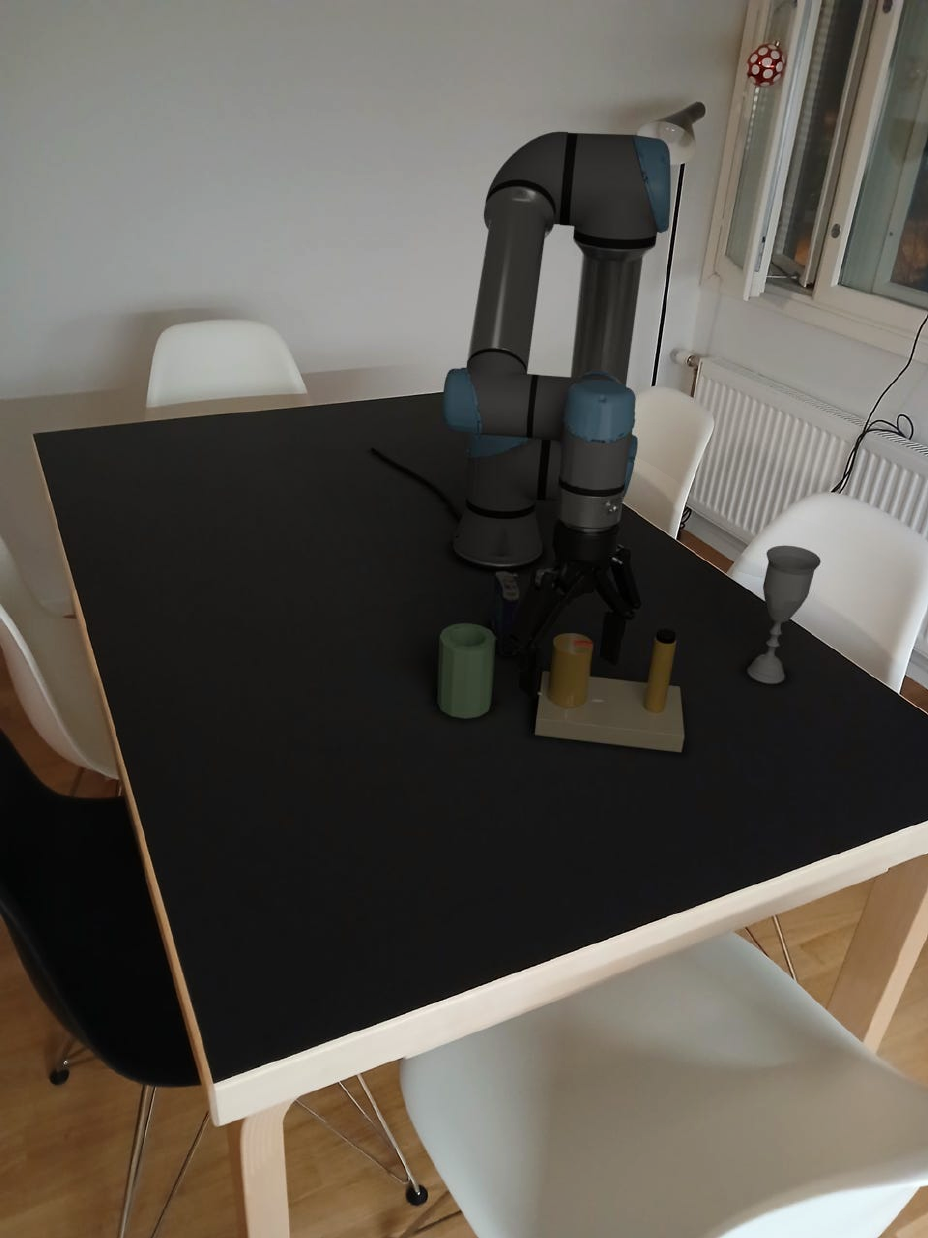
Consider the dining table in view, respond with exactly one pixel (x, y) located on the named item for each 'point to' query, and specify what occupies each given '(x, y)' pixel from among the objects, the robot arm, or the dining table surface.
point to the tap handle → (570, 670)
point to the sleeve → (465, 670)
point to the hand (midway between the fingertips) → (569, 676)
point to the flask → (504, 608)
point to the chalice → (783, 601)
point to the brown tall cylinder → (660, 670)
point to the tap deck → (614, 716)
